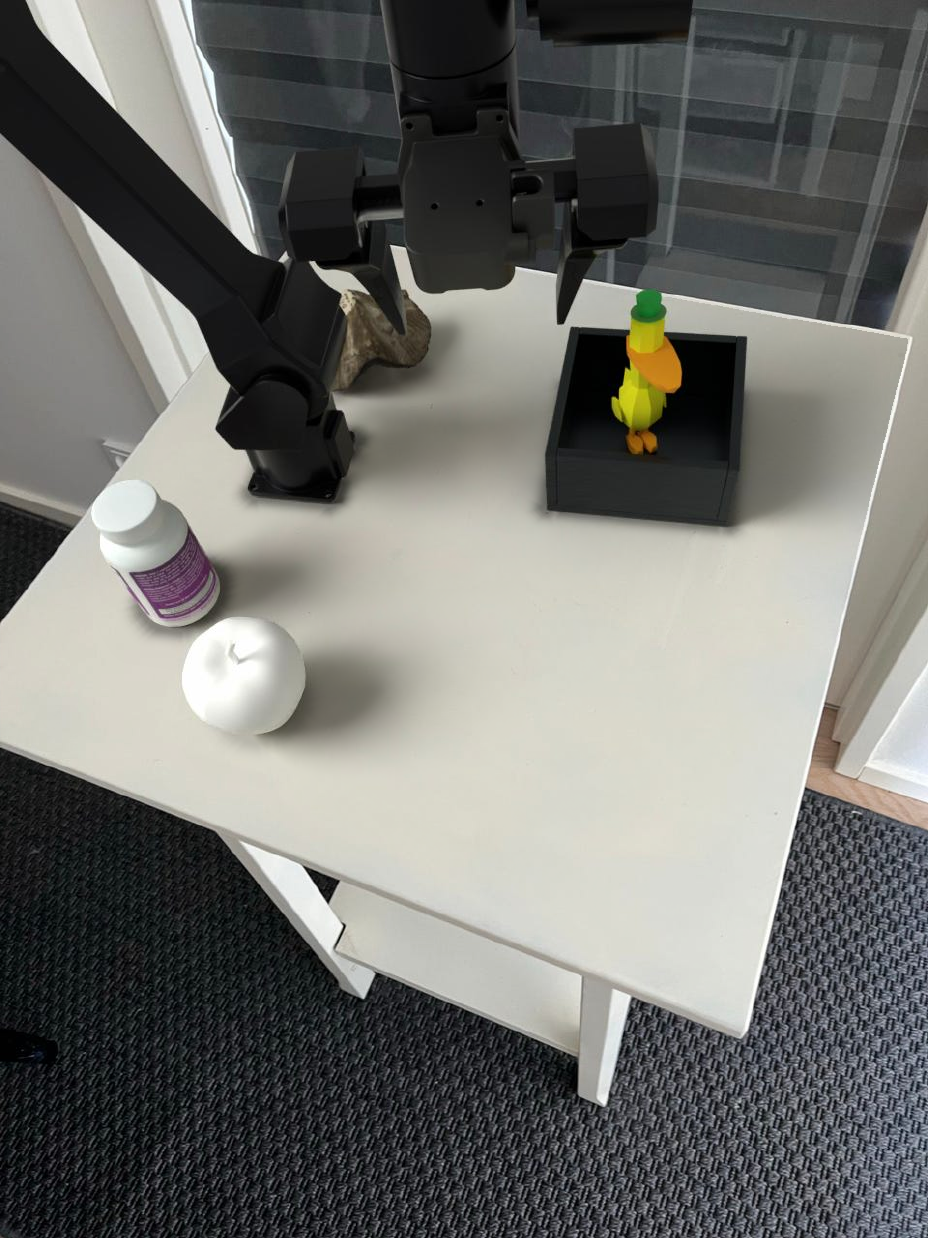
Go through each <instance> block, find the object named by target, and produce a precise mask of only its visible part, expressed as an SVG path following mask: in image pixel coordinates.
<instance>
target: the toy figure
mask: <svg viewBox="0 0 928 1238" xmlns="http://www.w3.org/2000/svg"><path fill="white" fill-rule="evenodd" d="M662 293H663V292H661V291H658V290H656V289H653V288H651V289H642V290H641V291H640V292H638V293H636V294H635V300H636V301H635V302H636V304H635V305H633V306H632V308H631V309H630V326H629V330H630V335H628V336H627V355H628V357H629V359H630V369H631V371H630V370H629V369H627V368H625V375H624V382H623V386H622V387H620V388H619V400H618V399H617V398H616V397H612V409H613V412H614V414H615V416H616V417H617V418H618V419H619V420H620V421H621V422H622V421H623V422H624V423H625V424H626V425H627V426H628V427H629V428H630V430H629V434H628V435H626V441H627V445H628V448H629V450H630V452H631V453H633V454H642V455H643V447H644V448H645V449H646V450H648V451H649V452H654V451H656V450H657V448H658V447H657V439H656V436H655V435H654V434H652V433H651V432H649V431H648V428H649V426H651V425H652V424H653V423H655V422H656V421H657V420H658V419H660V418H661V417H662V409H663V406H664V407H665V408H666V394H665V393H674V392H675V391H676V390H677V389H678V388H679V387H680V386H681V376H682V370H681V364H680V361H679V359H678V357H677V355H676V352H675V350H674V348H673V346H672V345H671V343H670V342H669V340H668V339H667V337H666V336H664V332H665V329H666V328H665V327H666V315H667V313H668V312H667V311H668V310H667V308H666V306H665V305H664V304H663V303H662V301H663V294H662ZM635 431H639V432H638V436H639V437H638V436H636V435H635Z"/></svg>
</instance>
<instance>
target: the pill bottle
mask: <svg viewBox="0 0 928 1238" xmlns="http://www.w3.org/2000/svg"><path fill="white" fill-rule="evenodd" d="M91 519H92V522H93V523H94V525H95V526H96V528H97V530H98V532H99V534H100V535H99V547H100V550H101V553H102V556H103V558H104V559H105V561H106V562H107V564H108V565H109V566H110V568H111V569H112V570H113V571H114V573H115V574H116V576H117V578H119V580H120V581H121V583H122V584H123V586H124V587H125V589H126V590H127V591H128V592H129V594H130V595H131V596H132V598H133V599H134V600H135V601H136V603H137V604H138V605H139V607H140V608H141V609H142V611H143V613H145V614H146V616H147V617H148V618H149V619H150V620H152V622H154V623H156V624H158V625H161V626H163V627H168V628H173V627H175V628H176V627H184V626H187V625H190V624H193V623H196V622H197V621H199V620H201V619H202V618H203V617H205V616H206V615H207V614H208V613H209V611H211V610H212V608H213V607H214V606H215V604H216V603H217V600H218V599H219V595H220V592H221V582H220V579H219V575H218V574H217V572H216V570H215V568H214V566H213V564H212V563H211V561H210V559H209V557H208V555H207V554H206V552H205V549H204V547H203V545H201V543H200V541H199V540H198V537H197V536H196V534H195V533H194V530H193V529H192V527H191V525H190V524H189V522H188V520H187V518H186V516H185V515H184V514H183V512H182V511H181V510H180V509H179V508H178V507H177V506H176V505H175V504H173V503H172V502H170V501H168V500H165V499H162V498H161V496H160V494H159V493H158V491H157V490H156V488H155V487H154V486H153V485H152V484H150V483H149V482H147V481H145V480H142V479H136V478H135V479H125V480H121V481H118V482H115V483H113V484H111V485H109V486H108V487H107V488H105V489H104V490H102V492H100V494H98V496H97V497H96V498H95V500H94V502H93V504H92V507H91Z"/></svg>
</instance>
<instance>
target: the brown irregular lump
mask: <svg viewBox="0 0 928 1238" xmlns="http://www.w3.org/2000/svg"><path fill="white" fill-rule="evenodd" d="M340 293H341V294H342V298H341V301H340V306H341V308H342V309H343V311H344V312H345V314H346V317H347V320H348V324H347V327H348V329H347V338H346V342H345V346H344V349H343V353H342V357H341V360H340V364H339V368H338V371H337V375H336V379H335V382H334V386H333V389H332V392H341V391H342V392H343V391H345V390H347V389H349V388H351V387H353V386H354V384H355V383H357V382H358V381H359V380H360V378H361V377H362V376H363V375H364V374H366V372H368V370H370V369H371V368H373V367H377V366H379V367H383V368H387V369H388V368H389V369H397V370H398V369H399V370H400V369H413V368H415V367H417V365H418V364H419V363H421V362H422V360H423V359H425V357H426V356H427V354H428V352H429V350H430V348H429V346H430V343H431V338H432V325H431V321H430V318H429V317H428V316H427V315H426V314H425V313H424V311H423V310H422V309H421V308H420V307H419V305H418V304H417V303H416V302H414V301H413V300H412V299H411V298H410V295H409V293H408V291H407V289H402V293H403V298H404V304H405V312H406V320H407V330H406V335H399V334H398V333H397V331H396V330H395V328H394V327H393V326H392V324H391V323H390V321H389V320H388V319H387V317H386V316H385V314H384V313H383V312H382V310H381V309H380V307H379V306H378V305H377V303H376V302H375V300H374V299H373V298H372V296H371V295H370V294H369V293H368V294H367V293H366V292H364V291H360V290H357V289H350V288H346V289H344V290H343V291H342V292H340Z"/></svg>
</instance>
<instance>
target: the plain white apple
mask: <svg viewBox="0 0 928 1238" xmlns="http://www.w3.org/2000/svg"><path fill="white" fill-rule="evenodd" d="M181 674H182V676H181V677H182V678H181V680H182V681H181V684H182V685H181V686H182V689H183V693H184V696H185V699H186V701H187V703H188V704H189V707H190V708H191V710H192V711H193V713H194V714H196V716H197V717H198V718H199V719H200V720H201V721H203V722H204V723H206V724H208V725H209V726H211V727H212V728H215V729H217V730H220V731H223V732H225V733H229V734H234V735H242V736H243V735H245V736H254V735H256V736H257V735H262V734H266V733H270V732H274V731H276V730H277V729H279V728H281V727H282V726H283V725H285V724H286V723H287V722H288V720H289V719H290V718H291V717H292V716H293V714H294V712H295V711H296V709H297V707H298V705H299V703H300V701H301V699H302V696H303V693H304V690H305V687H306V667H305V661H304V657H303V654H302V651H301V649H300V647H299V645H298V644H297V642H296V639H294V637H293V636H292V635H291V634H290V633H289V632H288V631H287V630H286V629H285V628H284V627H283V626H281V625H280V624H278V623H277V622H275V621H272V620H269V619H266V618H261V617H254V616H253V617H252V616H233V617H227V618H224V619H222V620H220V621H217V622H216V623H215V624H213V625H212V626H211V627H210V628H208V629H207V630H205V631H204V632H202V633H201V634H200V635H199V636H198V637H197V638H196V639H195V640H194V641H193V643H192V645H191V646H190V649H189V650H188V653H187V656H186V658H185V662H184V665H183V669H182V673H181Z"/></svg>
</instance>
